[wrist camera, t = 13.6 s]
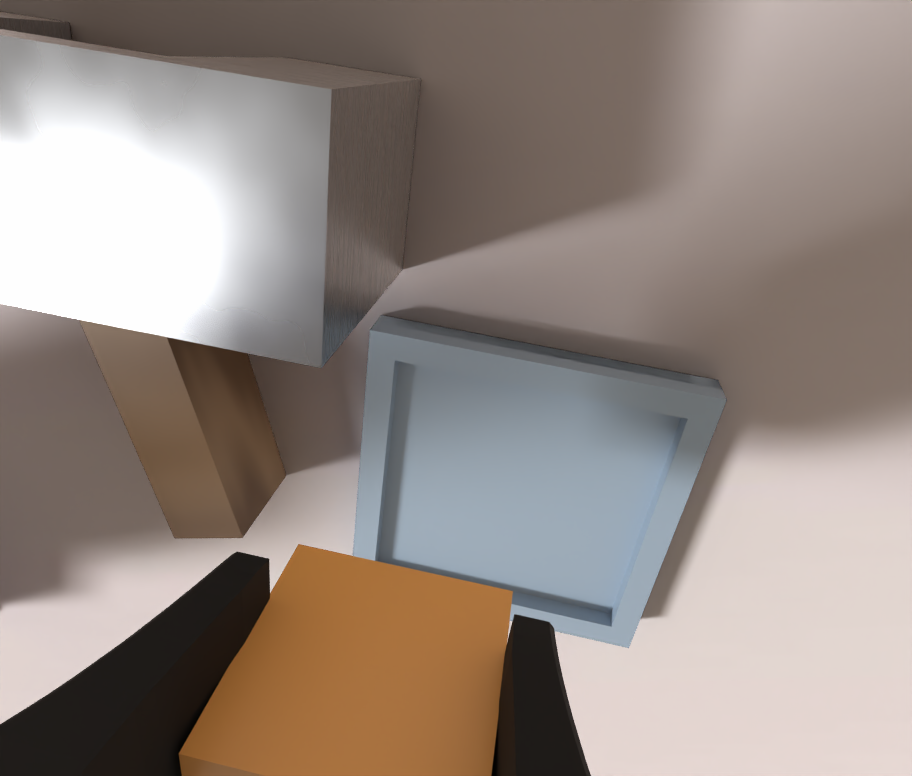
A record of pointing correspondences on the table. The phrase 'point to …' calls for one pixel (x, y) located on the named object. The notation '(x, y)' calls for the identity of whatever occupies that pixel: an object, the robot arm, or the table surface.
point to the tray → (528, 470)
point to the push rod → (192, 427)
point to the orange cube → (359, 676)
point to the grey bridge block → (200, 191)
